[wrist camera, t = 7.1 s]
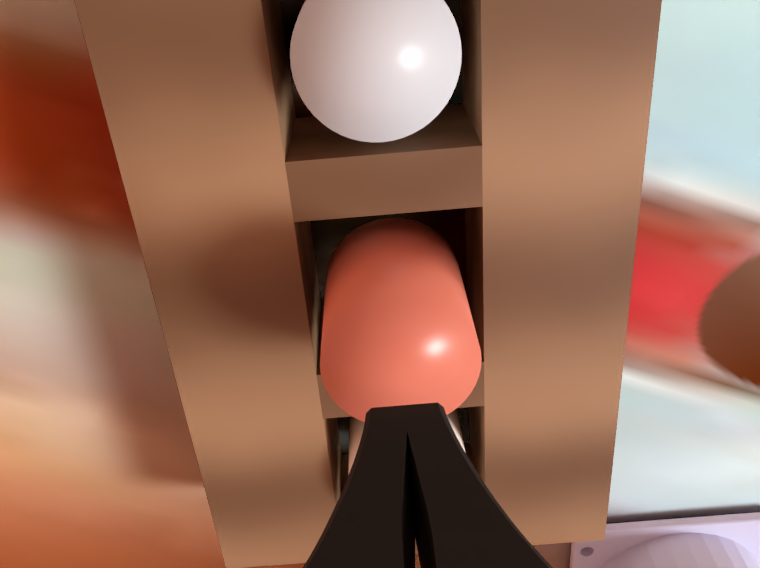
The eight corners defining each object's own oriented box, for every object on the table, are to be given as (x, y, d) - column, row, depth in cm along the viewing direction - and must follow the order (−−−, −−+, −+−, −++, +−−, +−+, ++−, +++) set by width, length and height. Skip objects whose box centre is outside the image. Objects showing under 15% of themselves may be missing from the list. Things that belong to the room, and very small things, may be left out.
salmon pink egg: (460, 329, 20) (482, 421, 17) (333, 339, 20) (329, 434, 17) (457, 212, 18) (480, 289, 15) (318, 224, 18) (310, 303, 15)
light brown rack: (575, 462, 26) (604, 540, 23) (241, 488, 26) (226, 568, 23) (620, -159, 17) (679, -167, 14) (101, -112, 17) (45, -110, 14)
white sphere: (444, 89, 19) (463, 135, 16) (311, 100, 19) (301, 148, 16) (439, -58, 17) (459, -42, 14) (293, -45, 17) (278, -26, 14)
